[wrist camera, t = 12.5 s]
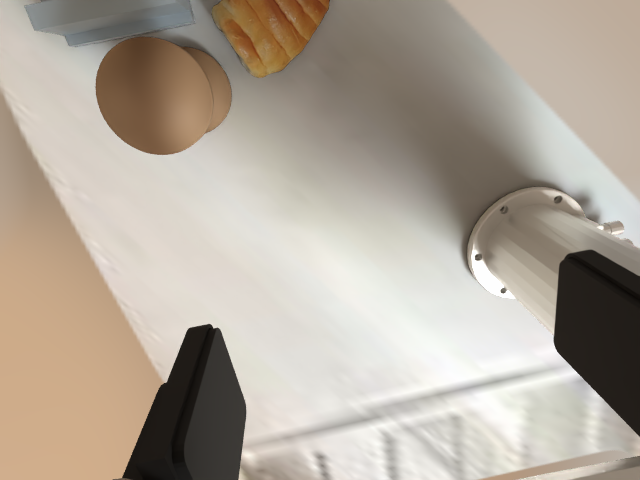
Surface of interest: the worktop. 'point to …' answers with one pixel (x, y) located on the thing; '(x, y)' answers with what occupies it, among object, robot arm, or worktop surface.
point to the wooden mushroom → (161, 94)
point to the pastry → (268, 30)
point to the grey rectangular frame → (107, 18)
